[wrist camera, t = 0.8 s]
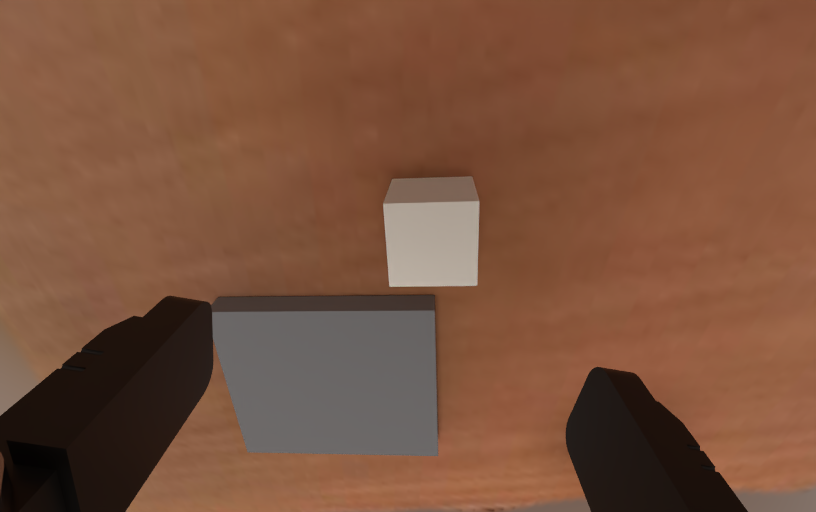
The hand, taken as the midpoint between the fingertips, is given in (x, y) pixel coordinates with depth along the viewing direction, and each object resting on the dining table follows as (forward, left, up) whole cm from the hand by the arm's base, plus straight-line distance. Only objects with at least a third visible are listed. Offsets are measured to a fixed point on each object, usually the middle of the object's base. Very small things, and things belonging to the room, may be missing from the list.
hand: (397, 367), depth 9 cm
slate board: (+8, +16, -19) cm, 26 cm away
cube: (-1, +3, -19) cm, 19 cm away
